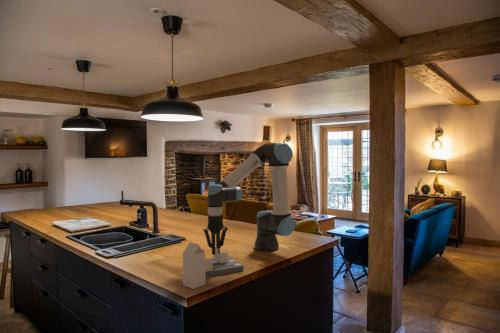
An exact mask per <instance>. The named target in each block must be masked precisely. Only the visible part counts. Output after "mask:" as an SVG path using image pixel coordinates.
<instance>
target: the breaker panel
mask: <svg viewBox="0 0 500 333" xmlns="http://www.w3.org/2000/svg"><path fill="white" fill-rule="evenodd" d="M244 268H245V267H244V265H243V264H242V263H240V262H239V261H237V260H236V259H234V258H232V257H231V256H229V255H228V262H227V263H219V262H218V261H214V257H208V258H206V257H205V278H210V277H215V276H222V275H226V274H227V273H228V274H232V273H233V274H234V273H237V272H244Z"/></svg>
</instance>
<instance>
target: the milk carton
mask: <svg viewBox="0 0 500 333" xmlns="http://www.w3.org/2000/svg"><path fill="white" fill-rule="evenodd" d="M205 259H206V251H205V250H203V249H202V248H201V246H200V244H199V243H194V242H190V241H188V245H186V247H185V249H184V250H183V252H182V284H183V287H187V288H189V289H192V290H195V289H198V288H200V287H203V286H206V277H205Z"/></svg>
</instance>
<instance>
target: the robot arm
mask: <svg viewBox="0 0 500 333" xmlns="http://www.w3.org/2000/svg"><path fill="white" fill-rule="evenodd" d="M293 156H294V155H293V150H292V148H291V146H290V145H289V144H288V143H286V142H280V141H279V142H267V143H264V144H261V145H260V146H258V147H257V148H256V149H254V151H252V152H250V153H249V156H248V157H247V159H245V160H243V162H242V163H241V164H239V165H238V166H237V167H236V168H235V169H234V170H232V171H231V172H230V173H229V174H227V176H225V177H224V178H223V179H221V181H219V182H218V183H215V184H213V183H212V184H209V185H208V186H207V214H208V215H207V226H206V228H204V229H202V231H203V233H204V236H205V238H206V242H207V247H208V248H210V249H211V255H213V258H214V261H218V254H220V251H221V247H223V246H224V243H225V239H226V234H227V231H228V229H229V228H228V227H227V226H225V225H224V223H223V222H224V221H223V220H224V219H223V213H224V212H223V211H224V210H223V203H229V202H238V201H241V200H242V198H243V195H244V193H243V189H242V188H241V187H240V186H237V185H238V184H240V183H242V181H243V180H244V179H245V178H246V177H248V176H249V175H250V174H251V173H252V172H253V171H254V170H255V169H257V168H258V167H262V166H263V165H264V164H267V163H268V167H269V169H270V170H271V183H272V184H271V186H272V188H271V189H272V207H273V209H272V210H270V209H269V210H261V211H258V212H257V213H256V237H255V238H256V239H255V241H254V244H253V247H254V249H255V250H257V251H262V252H271V251H276V249H277V250H278V249H279V242H278V239H277V235H278V236H280V237H288V236H290V235H292V234H293V232H294V231H295V228H296V221H295V218H294V217H292V213H291V210H290V209H289V197H288V175H287V169H288V167H290V162H291V161H292V159H293ZM209 232H210V233H209ZM210 234H211V235H210ZM210 237H211V238H210Z"/></svg>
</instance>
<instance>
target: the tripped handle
mask: <svg viewBox="0 0 500 333" xmlns="http://www.w3.org/2000/svg"><path fill="white" fill-rule="evenodd" d="M228 256H229V253H228V252H227V251H226V250H220V254H218V262H219V263H227V262H228Z"/></svg>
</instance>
